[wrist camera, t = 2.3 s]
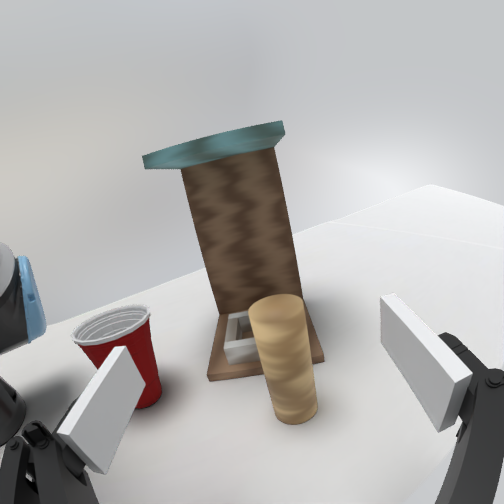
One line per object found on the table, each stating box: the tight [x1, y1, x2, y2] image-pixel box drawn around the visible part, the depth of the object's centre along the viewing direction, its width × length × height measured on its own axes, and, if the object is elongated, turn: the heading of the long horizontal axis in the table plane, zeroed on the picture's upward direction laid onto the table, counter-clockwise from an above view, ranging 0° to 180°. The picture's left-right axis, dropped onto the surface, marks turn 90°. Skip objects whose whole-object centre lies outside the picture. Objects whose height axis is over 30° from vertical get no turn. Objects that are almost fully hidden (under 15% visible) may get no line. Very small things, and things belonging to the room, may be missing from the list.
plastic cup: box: [71, 305, 162, 408], centre depth 31 cm, size 11×11×12 cm
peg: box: [248, 294, 317, 425], centre depth 25 cm, size 5×5×13 cm
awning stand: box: [142, 121, 324, 381], centre depth 38 cm, size 15×18×28 cm
